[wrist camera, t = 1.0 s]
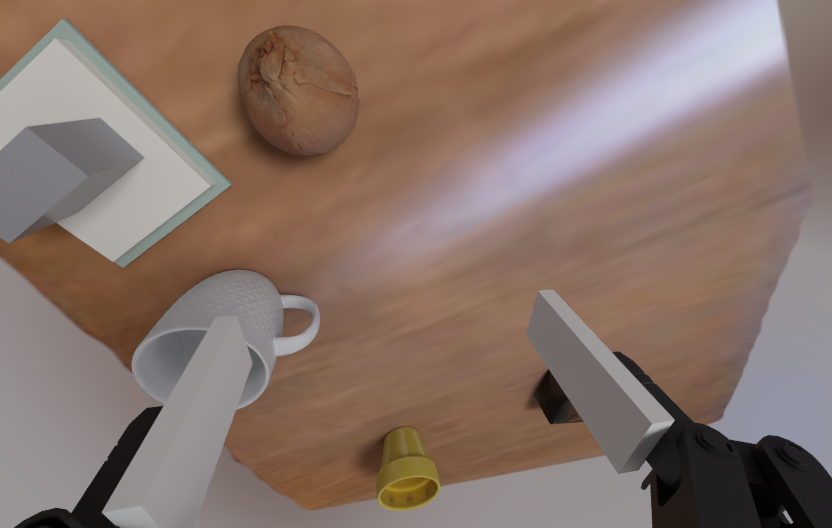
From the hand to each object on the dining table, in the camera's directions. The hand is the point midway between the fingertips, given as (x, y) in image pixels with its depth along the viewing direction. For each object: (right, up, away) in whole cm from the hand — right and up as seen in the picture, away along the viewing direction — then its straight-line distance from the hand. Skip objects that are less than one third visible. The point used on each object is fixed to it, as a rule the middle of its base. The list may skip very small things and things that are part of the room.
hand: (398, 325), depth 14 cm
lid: (-29, +12, +16) cm, 35 cm away
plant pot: (-2, -30, +45) cm, 54 cm away
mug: (-19, -1, +25) cm, 32 cm away
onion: (-9, +19, +16) cm, 27 cm away
